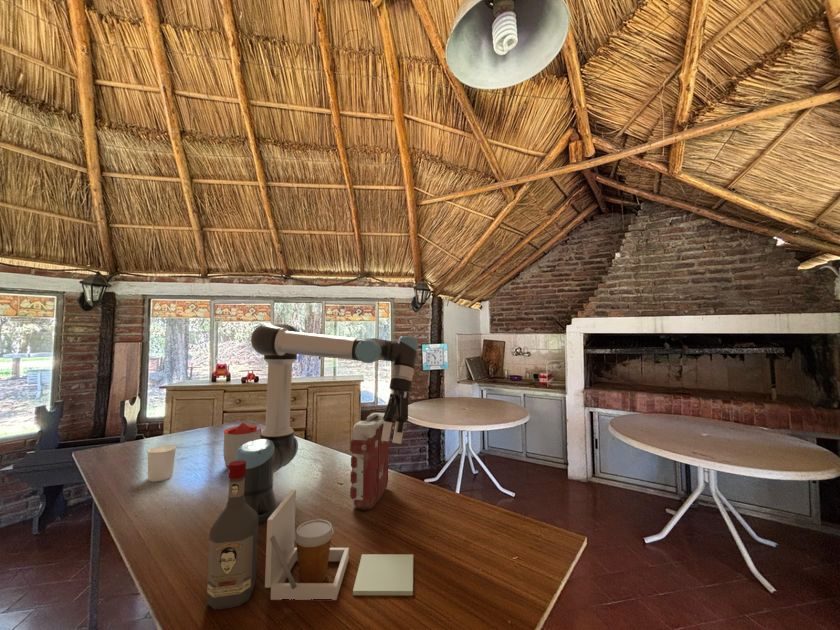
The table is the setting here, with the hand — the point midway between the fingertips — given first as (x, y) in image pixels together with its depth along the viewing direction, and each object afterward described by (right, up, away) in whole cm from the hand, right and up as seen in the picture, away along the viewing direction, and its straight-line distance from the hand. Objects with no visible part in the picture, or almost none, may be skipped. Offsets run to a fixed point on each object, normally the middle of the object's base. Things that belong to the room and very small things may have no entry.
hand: (390, 442), depth 119 cm
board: (+1, -23, -29) cm, 37 cm away
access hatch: (-17, -23, -30) cm, 42 cm away
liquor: (-34, -23, -36) cm, 55 cm away
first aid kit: (-8, -26, +14) cm, 31 cm away
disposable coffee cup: (-17, -23, -30) cm, 42 cm away
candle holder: (-100, -26, +31) cm, 107 cm away
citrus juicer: (-72, -27, +45) cm, 89 cm away
